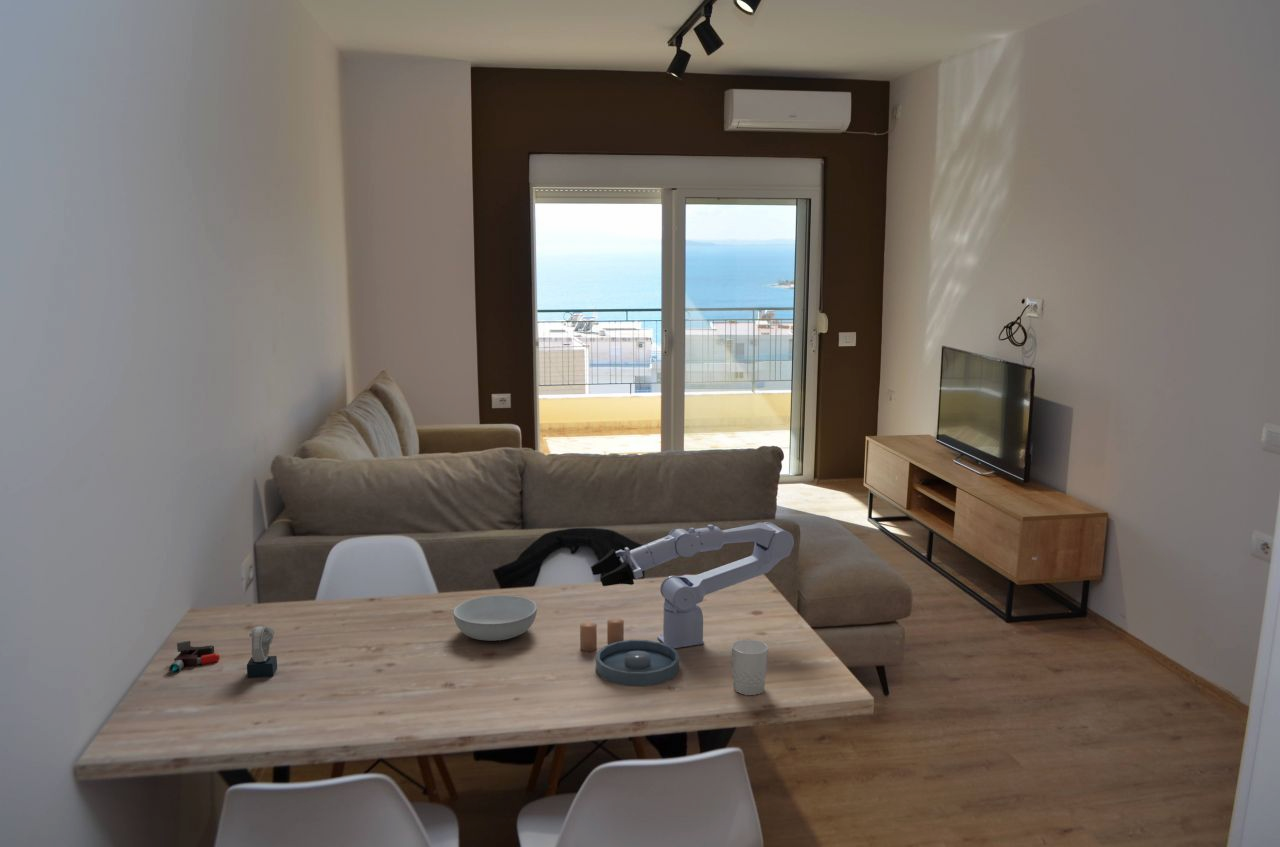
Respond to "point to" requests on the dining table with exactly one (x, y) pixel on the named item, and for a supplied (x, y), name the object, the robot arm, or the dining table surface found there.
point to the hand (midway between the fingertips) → (596, 576)
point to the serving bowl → (495, 617)
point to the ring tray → (637, 662)
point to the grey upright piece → (261, 653)
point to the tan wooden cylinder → (588, 636)
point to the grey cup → (749, 666)
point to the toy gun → (193, 656)
